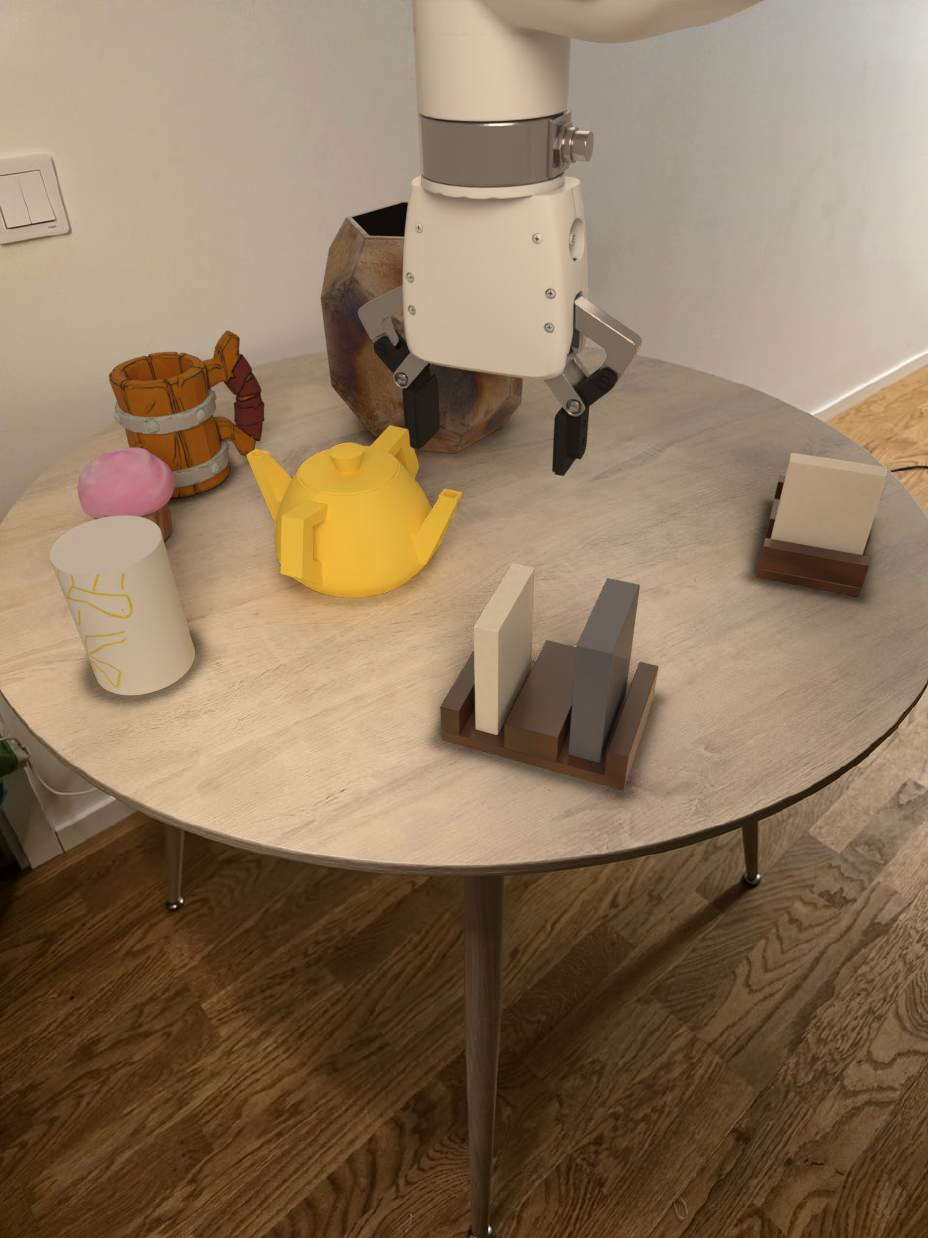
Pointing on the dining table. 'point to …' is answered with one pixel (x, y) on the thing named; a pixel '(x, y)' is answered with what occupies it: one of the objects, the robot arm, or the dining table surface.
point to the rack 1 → (551, 719)
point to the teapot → (354, 516)
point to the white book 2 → (828, 503)
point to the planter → (369, 269)
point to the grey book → (602, 669)
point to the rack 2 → (810, 562)
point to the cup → (124, 603)
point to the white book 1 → (503, 648)
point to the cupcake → (128, 487)
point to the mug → (189, 411)
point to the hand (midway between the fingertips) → (493, 452)
